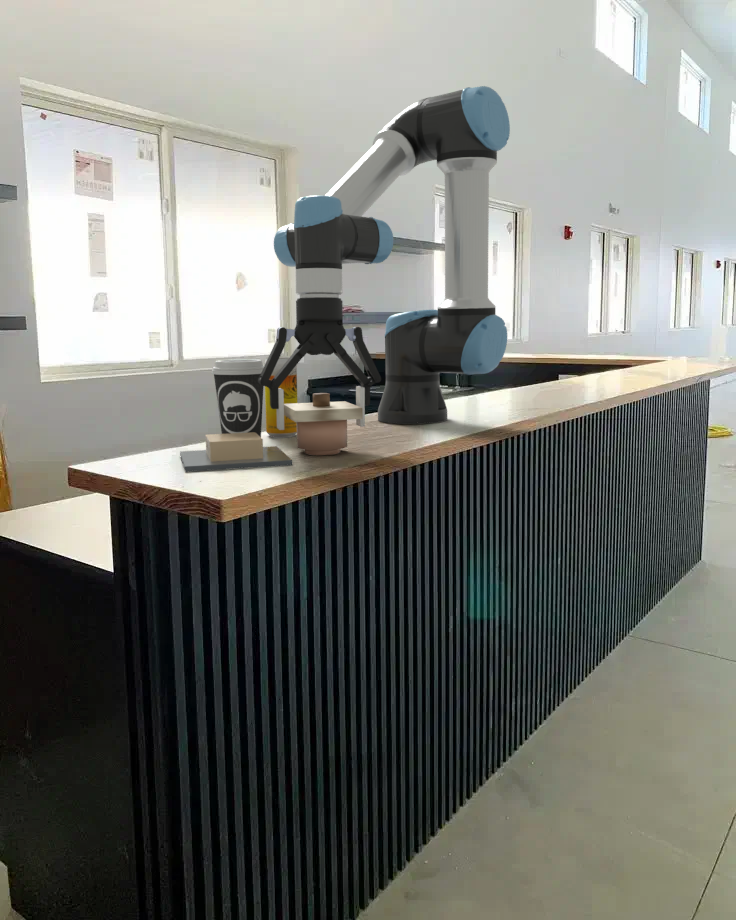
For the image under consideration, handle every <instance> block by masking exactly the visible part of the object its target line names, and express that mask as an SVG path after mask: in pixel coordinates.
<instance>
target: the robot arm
mask: <svg viewBox="0 0 736 920" xmlns="http://www.w3.org/2000/svg"><path fill="white" fill-rule="evenodd" d="M509 117H510V116H509V114H508V111H507V107H506V104H505V103H504V102H503V99H502V97H501V96H500V95H499V93H498V92H497V91H495V89H493V88H492V87H489V86H488V85H487V86H485V85H483V86H482V85H481V86H480V85H479V86H477V87H476V86H475V87H465V88H464V89H459V90H456V91H452V92H447V93H443V94H439V95H435V96H429V97H425V98H421V99H419V100H418V101H415V102H414V103H412V104H411V105H409V106H408V107H406V108H405V109H403V110H402V111H401V112H400V113H398V114H397V115H396V116H394V117H393V119H391V120H390V121H389V122H388V123H387V124H386V125H384V127H383V128H382V129H381V130H380V131H379V132H378V133H377V134H376V135H375V136H374V138H373V141H372V146H371V147H370V149H368V151H367V152H365V154H363V156H362V157H361V158H360V159H359V160H358V161H357V162H356V163H355V164H354V165H353V166H352V167H351V168H350V169H349V170H348V171H347V172H346V173H345V175H343V177H341V179H339V180H338V182H337V183H335V184H334V185H333V186H332V188H330V190H329V191H328V192H327V193H326V194H324V195H320V194H319V195H318V194H317V195H307V196H302V197H299V198H298V199H296V202H295V204H294V217H293V218H294V219H293V223H291V222H290V223H289V224H286V225H283V226H281V227H279V228H278V230H277V231H276V232H275V234H274V237H273V250H274V253H275V255H276V257H277V259H278V260H279V262H280V263H281V264H283V265H284V266H285V267H291V268H293V267H295V294H296V295H297V296H298V295H299V298H297V299H296V300H295V310H296V311H295V314H296V315H295V316H296V319H295V320H296V322H295V323H296V324H295V327H294V328H286V327H283V326H281V327H278V328H277V330H276V338H275V339H276V340H275V343H274V345H273V347H272V349H271V351H270V353H269V355H268V356H267V357H268V359H267V362H266V364H265V366H264V365H263V366H264V368H263V370H262V372H261V375H260V377H259V379H258V383H259V384H261V385H263V386H264V387H265V386H266V387H268V388H269V390H270V406H271V408H272V409H277V428H278V429H279V430H284V392H283V389H281V388H280V389H278V387H279V386H280V385H281V384H282V382H283V381H284V380H285V379H286V377H287V376H288V375H289V374H290V372H291V371H292V370H293V369H294V367H295V366H296V365H298V364H299V363H300V361H301V360H302V359H303V358H304V357H305V356H306V354H308V355H310V356H318V355H323V356H324V355H325V356H331V355H332V354H334V355H335V356H336V357H337V358H338V359H339V360H340V361H341V363H342V364H343V365H344V367H346V369H347V370H348V371H349V373H350V374H352V376H353V377H354V378H355V379H356V380H357V382H358V383H359V384H360V385H358V386H357V385H356V386H355V405H356V406H359V407H361V408H362V413H363V419H355V425H356V426H359V427H360V428H361V427H366V424H365V423H366V420H365V419H366V415H365V414H366V410H365V408H366V407H367V406H370V404H371V388H372V386H373V385H375V384H377V383H380V382H381V381H382V377H381V375H380V372H379V371H378V368H377V367H376V364H375V362H374V360H373V358H372V355H371V354H370V351H369V350H368V348H367V346H366V344H365V342H364V338H363V330H362V329H363V328H361V327H360V326H353V327H351V328H345V327H344V323H343V322H344V321H343V319H344V318H343V317H344V316H343V314H344V313H343V312H344V311H343V308H344V307H343V300H342V298H340V295H342V294H343V264H345V265H346V264H365V265H372V264H380V263H383V262H385V261H386V260H387V259H388V258H389V256H390V255H391V253H392V251H393V248H394V233H393V231H392V228H391V227H390V226H389V224H388V223H387V222H385V221H383V220H381V219H377V218H374V217H372V216H369V217H368V216H363V215H365V214H366V212H367V211H368V210H370V209H371V207H372V206H373V205H374V204H375V202H377V200H378V199H379V198H380V197H381V196H382V195H383V194H384V193H385V192H386V191H387V189H389V188H390V186H391V185H392V184H393V183H394V182H395V181H396V180H397V179H398V178H399V177H400V176H405V175H408V174H409V173H410V172H411V171H413V169H415V167H418V166H419V165H421V164H425V163H428V162H432V161H436V167H437V168H438V169H439V170H440V171H441V172H442V173H443V174H444V299H443V301H442V302H441V303H440V304H439V305H438V306H437V309H422V310H414V311H413V310H411V311H405V312H398V313H395V314H392V315H390V316H389V317H388V318H387V319H386V322H385V333H384V345H385V346H384V351H385V355H384V356H385V357H384V359H385V361H384V362H385V385H384V390H383V393H382V397H381V399H380V403H379V406H378V409H377V420H378V421H379V422H382V423H387V424H388V423H389V424H404V425H409V424H410V425H415V424H416V425H418V424H419V425H420V424H422V425H423V424H434V423H435V424H437V423H443V422H446V421H448V408H447V405H446V401H445V398H444V395H443V392H442V388H441V383H440V374H442V373H443V374H462V375H467V376H470V375H484V374H485V375H486V374H488V373H490V372H493V371H494V370H495V369H496V368H497V367H498V366H499V364H500V362H501V361H502V359H503V357H504V355H505V354H506V353H505V352H506V349H507V343H508V328H507V326H506V322H505V321H504V319H503V318H502V317H501V316H499V315H497V313H496V305H495V304H494V303H493V302H492V300H490V298H489V222H490V221H489V216H490V215H489V213H490V209H489V207H490V206H489V205H490V203H489V201H490V199H489V197H490V195H489V194H490V190H489V189H490V188H489V187H490V172H491V170H492V169H493V168H494V167H495V165H497V163H498V162H497V161H498V156H497V155H498V152H499V151H501V150H502V149H504V148H505V146H507V143H508V140H509V139H510V138H509V137H510V132H511V130H510V129H511V127H510V126H511V125H510V118H509ZM292 337H294V339H295V340H296V341H297V343H298V345H297V347H296V348H295V349H294V350H293V353H292V354H291V355H289V356H290V358H289V359H288V360H287V361H286V363H285V364H284V365H283V366H282V368H281V369H280V370H279V371H278V373H277V374H276V375H275V376H274V378H273V379H272V380H269V379H270V377H271V375H272V372H273V370H274V368H275V366H276V364H277V362H278V359H279V357H280V356H281V355H282V353H283V351H284V349H285V346H286V343H288V342H290V341H291V338H292ZM345 337H347V339H348V340H349V341H351V342H352V345H353V347H354V348H355V351H356V352H357V354H358V357H359V358H360V361H361V364H362V365H363V366H364V369H365V371H366V373H367V375H368V376H367V375H366V374H365V372H363V370H362V368H360V367H359V366H358V365H357V363H356V362H355V360H354V359H352V357H351V356H350V354H348V352H347V350H346V349H345V348H344V347H343V346H342V344H341V343H342V342H343V341H344V339H345Z"/></svg>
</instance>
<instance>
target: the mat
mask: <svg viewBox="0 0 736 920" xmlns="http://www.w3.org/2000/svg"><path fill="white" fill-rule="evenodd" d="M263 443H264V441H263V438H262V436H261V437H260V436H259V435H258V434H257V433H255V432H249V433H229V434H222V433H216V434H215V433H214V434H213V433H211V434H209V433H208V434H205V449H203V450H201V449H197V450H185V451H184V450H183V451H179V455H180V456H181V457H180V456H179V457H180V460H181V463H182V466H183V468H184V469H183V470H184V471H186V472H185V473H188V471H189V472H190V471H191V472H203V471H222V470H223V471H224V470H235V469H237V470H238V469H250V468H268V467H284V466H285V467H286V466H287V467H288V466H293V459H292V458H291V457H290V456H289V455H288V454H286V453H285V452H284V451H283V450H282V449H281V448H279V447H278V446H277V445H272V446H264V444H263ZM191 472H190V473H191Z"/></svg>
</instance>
